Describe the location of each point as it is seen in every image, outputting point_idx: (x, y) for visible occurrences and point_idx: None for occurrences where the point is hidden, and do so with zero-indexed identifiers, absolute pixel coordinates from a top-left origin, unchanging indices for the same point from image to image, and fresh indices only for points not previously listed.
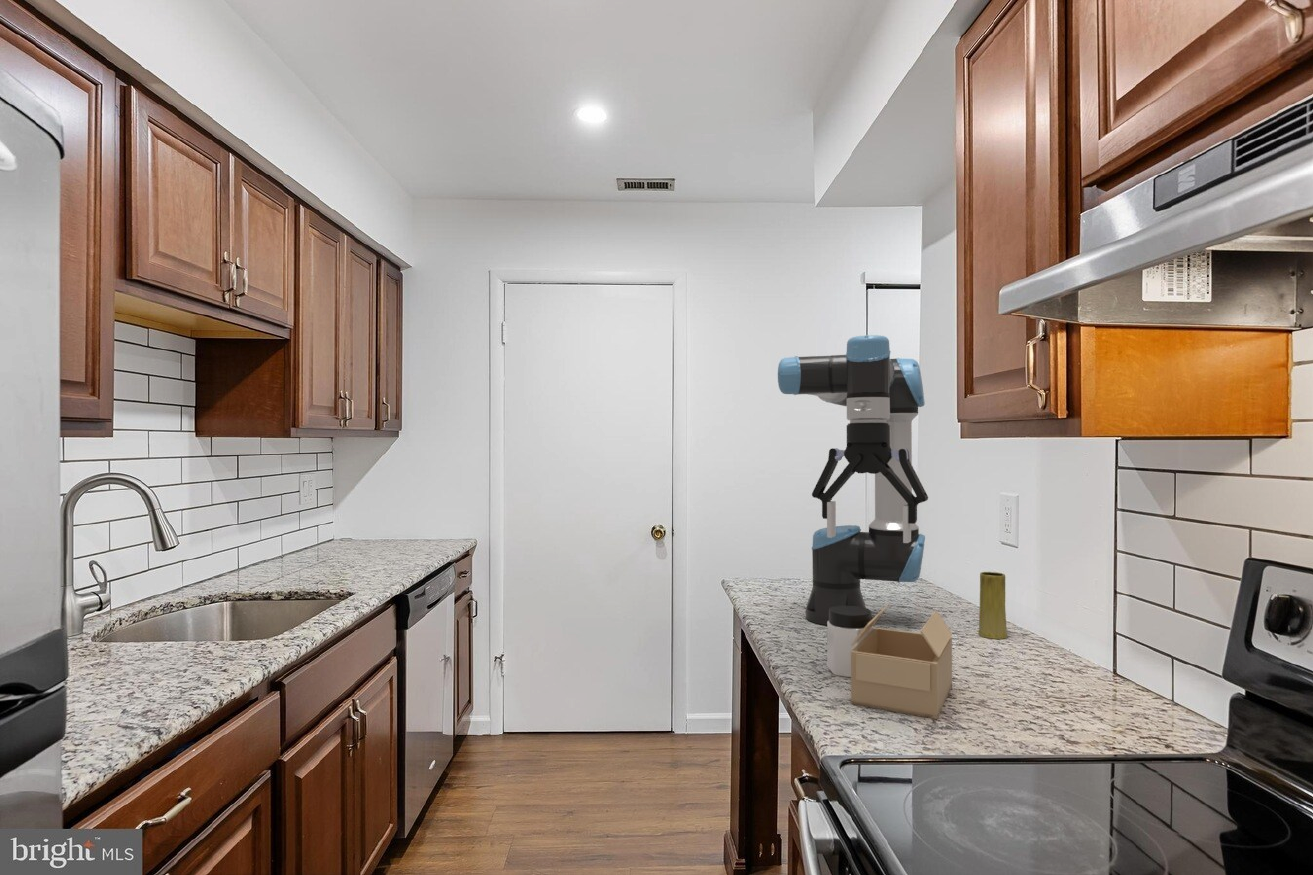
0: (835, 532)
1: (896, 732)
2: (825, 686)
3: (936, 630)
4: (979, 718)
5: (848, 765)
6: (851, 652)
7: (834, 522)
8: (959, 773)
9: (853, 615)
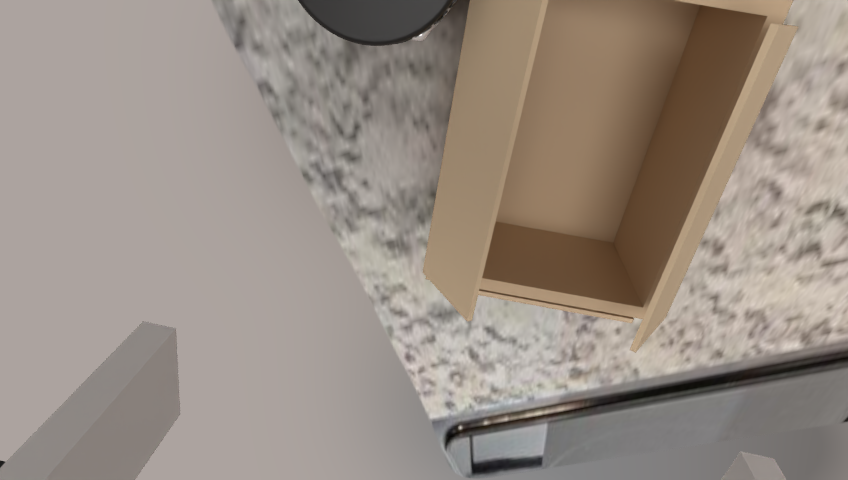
0: (159, 351)
1: (529, 327)
2: (364, 119)
3: (708, 205)
4: (717, 221)
5: (456, 441)
6: (427, 278)
7: (103, 442)
8: (613, 433)
9: (398, 41)
